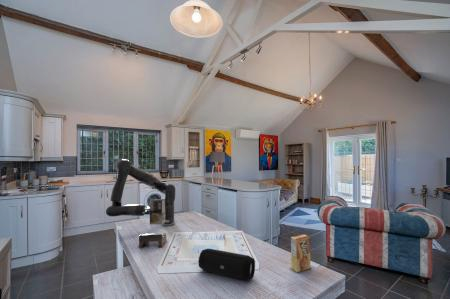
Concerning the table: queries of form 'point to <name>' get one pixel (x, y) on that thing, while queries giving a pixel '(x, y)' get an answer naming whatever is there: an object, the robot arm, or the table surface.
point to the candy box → (300, 253)
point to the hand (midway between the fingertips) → (160, 210)
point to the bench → (152, 239)
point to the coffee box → (159, 205)
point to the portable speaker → (227, 263)
